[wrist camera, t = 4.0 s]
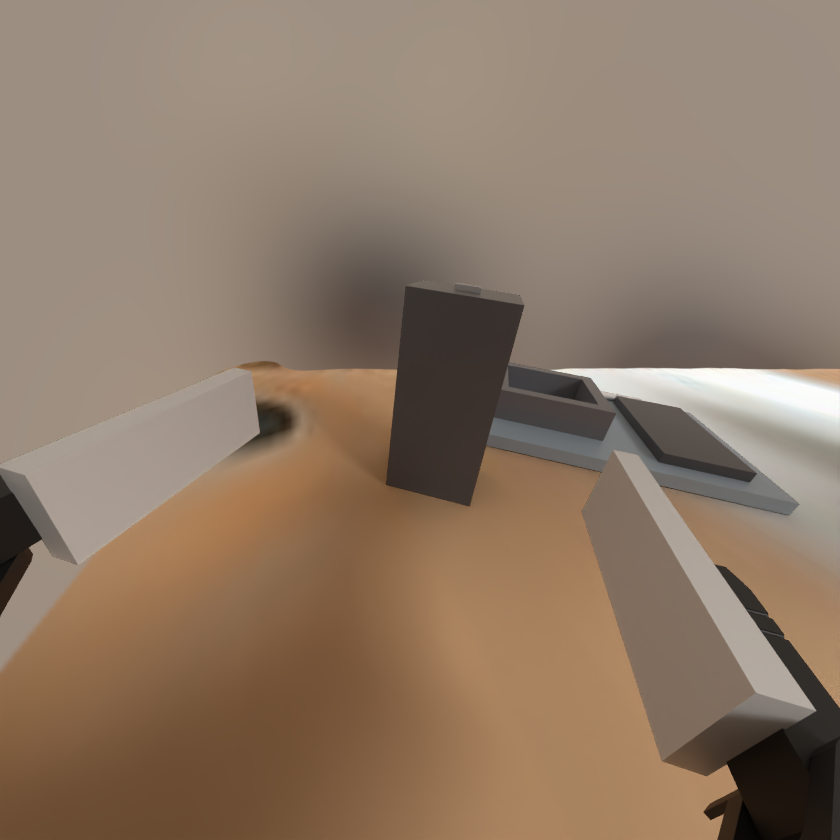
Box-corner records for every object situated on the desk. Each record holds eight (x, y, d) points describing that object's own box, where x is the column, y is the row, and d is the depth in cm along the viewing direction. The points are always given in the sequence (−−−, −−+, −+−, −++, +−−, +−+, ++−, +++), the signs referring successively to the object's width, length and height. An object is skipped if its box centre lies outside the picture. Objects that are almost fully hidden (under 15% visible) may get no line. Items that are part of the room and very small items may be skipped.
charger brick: (474, 466, 22) (520, 289, 16) (469, 506, 18) (526, 298, 13) (404, 449, 22) (426, 274, 17) (386, 484, 19) (406, 279, 13)
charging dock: (684, 421, 33) (703, 391, 32) (789, 515, 21) (827, 474, 20) (486, 381, 36) (493, 351, 35) (477, 443, 24) (488, 402, 22)
